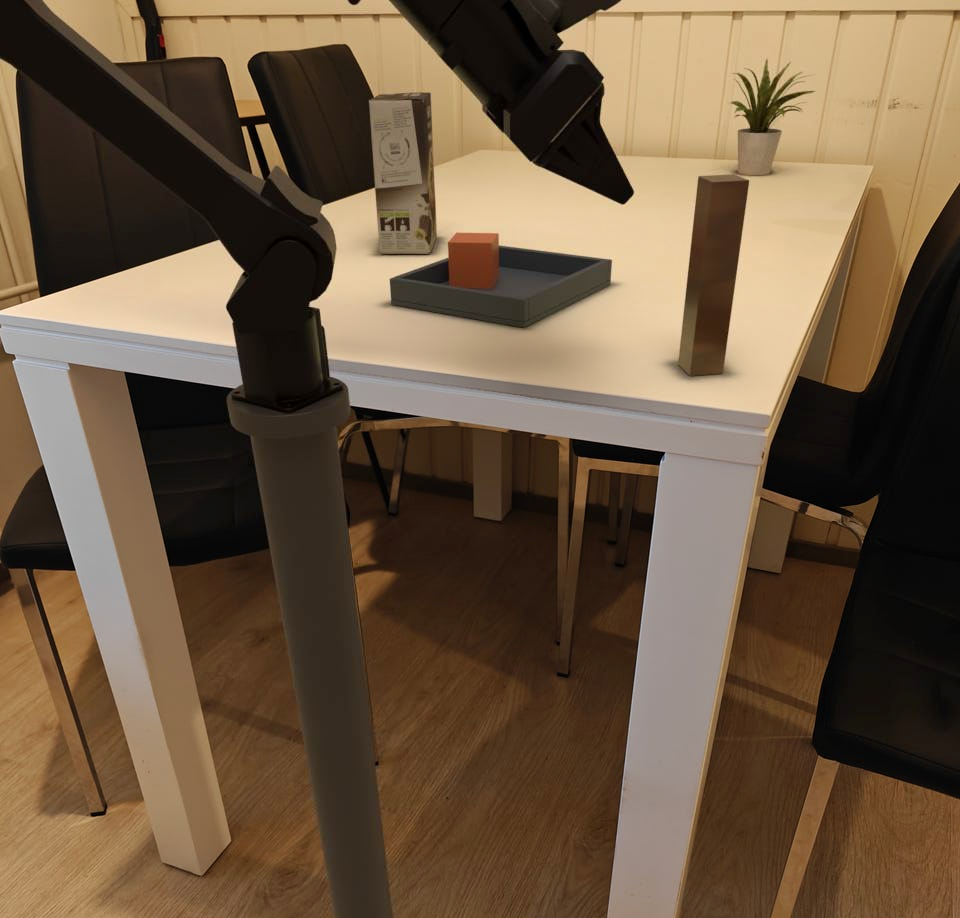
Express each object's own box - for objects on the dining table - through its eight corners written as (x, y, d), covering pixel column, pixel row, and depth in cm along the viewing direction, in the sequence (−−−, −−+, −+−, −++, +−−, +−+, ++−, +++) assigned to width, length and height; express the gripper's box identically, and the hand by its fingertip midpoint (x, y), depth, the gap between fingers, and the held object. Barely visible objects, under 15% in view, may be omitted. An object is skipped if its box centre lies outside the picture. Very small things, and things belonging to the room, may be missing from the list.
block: (492, 289, 93) (491, 242, 90) (449, 288, 94) (447, 241, 91) (499, 278, 97) (498, 233, 94) (457, 277, 97) (456, 232, 95)
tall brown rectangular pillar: (689, 376, 72) (712, 182, 64) (677, 364, 75) (698, 175, 66) (723, 373, 73) (749, 180, 65) (710, 362, 75) (734, 174, 67)
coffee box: (431, 254, 108) (424, 97, 99) (378, 255, 109) (366, 98, 99) (438, 238, 116) (432, 90, 106) (388, 238, 116) (378, 91, 107)
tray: (524, 327, 84) (524, 299, 82) (391, 304, 91) (389, 278, 89) (610, 284, 96) (612, 259, 94) (487, 267, 103) (486, 243, 101)
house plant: (758, 184, 144) (776, 62, 134) (691, 174, 153) (703, 59, 143) (812, 173, 151) (833, 57, 141) (745, 164, 160) (761, 54, 150)
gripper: (573, -129, 48) (746, 106, 55) (526, -98, 63) (666, 83, 70) (432, 53, 52) (609, 250, 59) (419, 40, 67) (562, 198, 74)
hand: (614, 187), depth 65 cm, fingers open, 9 cm apart
